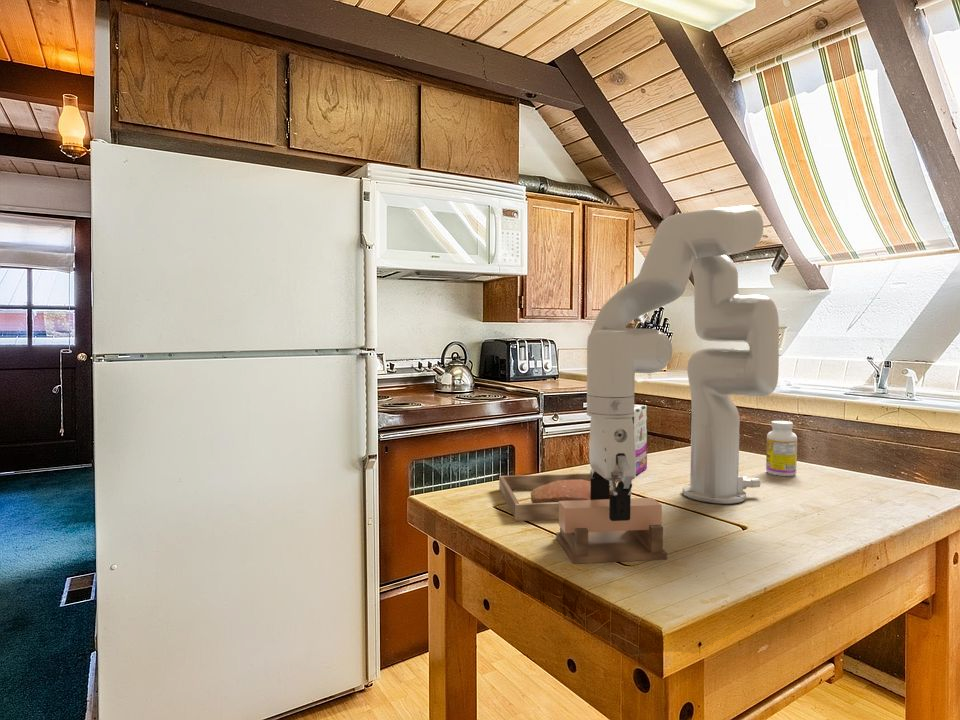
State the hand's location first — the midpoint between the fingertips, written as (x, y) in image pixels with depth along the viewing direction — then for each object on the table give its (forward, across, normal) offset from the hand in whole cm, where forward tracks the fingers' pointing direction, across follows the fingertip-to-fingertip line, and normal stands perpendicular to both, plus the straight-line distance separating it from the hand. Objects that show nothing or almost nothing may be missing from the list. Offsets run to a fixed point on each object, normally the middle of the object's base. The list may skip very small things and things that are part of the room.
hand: (609, 510), depth 96 cm
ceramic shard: (+7, +25, 0) cm, 26 cm away
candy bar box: (+6, +48, -22) cm, 53 cm away
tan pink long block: (+3, 0, 0) cm, 3 cm away
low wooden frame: (+6, +26, +2) cm, 27 cm away
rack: (+6, 0, 0) cm, 6 cm away
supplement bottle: (+6, +42, -58) cm, 72 cm away
